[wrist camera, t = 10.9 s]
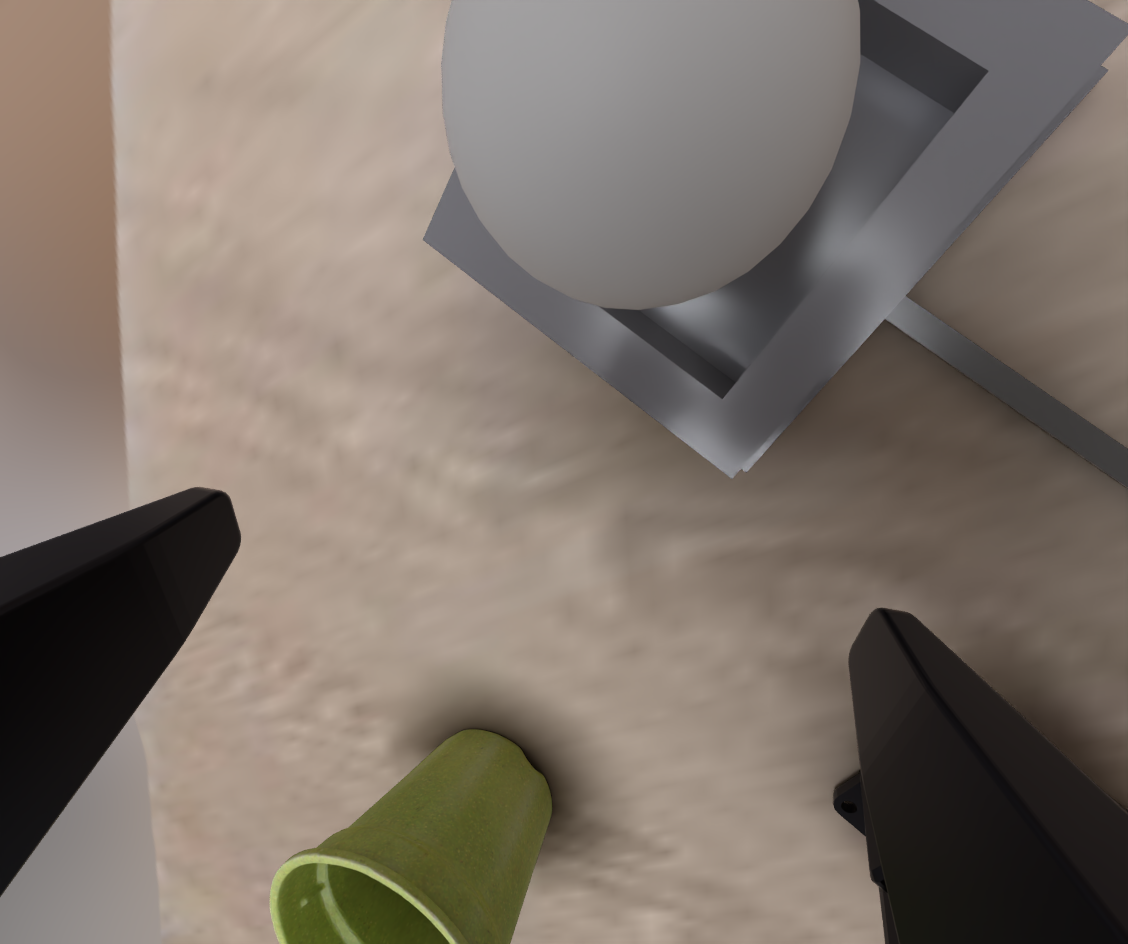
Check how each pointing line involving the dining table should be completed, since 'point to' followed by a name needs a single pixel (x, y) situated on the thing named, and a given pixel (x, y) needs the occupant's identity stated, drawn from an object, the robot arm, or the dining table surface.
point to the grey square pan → (845, 234)
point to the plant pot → (425, 855)
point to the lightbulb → (645, 134)
